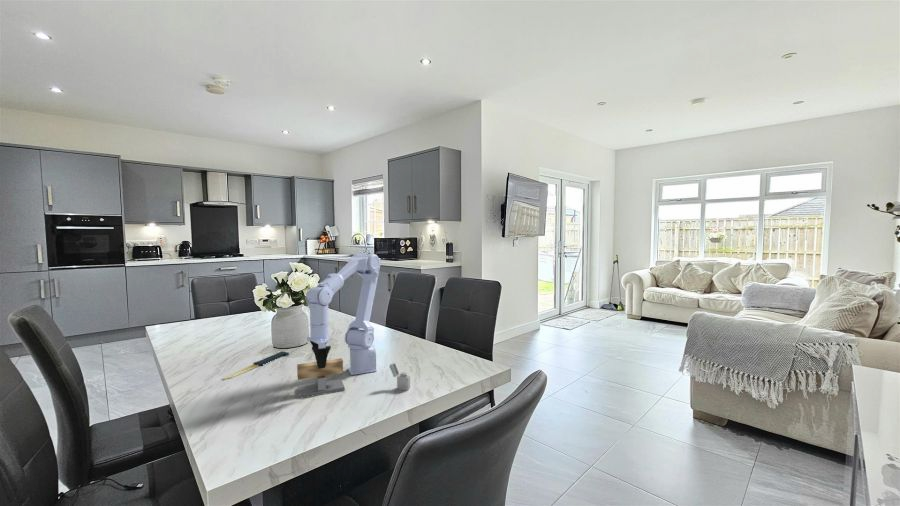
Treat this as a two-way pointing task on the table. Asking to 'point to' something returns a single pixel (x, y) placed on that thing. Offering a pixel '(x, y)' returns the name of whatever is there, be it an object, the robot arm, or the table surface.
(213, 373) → the table surface
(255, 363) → the knife
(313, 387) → the stand
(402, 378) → the lighter
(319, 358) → the robot arm
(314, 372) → the bar
